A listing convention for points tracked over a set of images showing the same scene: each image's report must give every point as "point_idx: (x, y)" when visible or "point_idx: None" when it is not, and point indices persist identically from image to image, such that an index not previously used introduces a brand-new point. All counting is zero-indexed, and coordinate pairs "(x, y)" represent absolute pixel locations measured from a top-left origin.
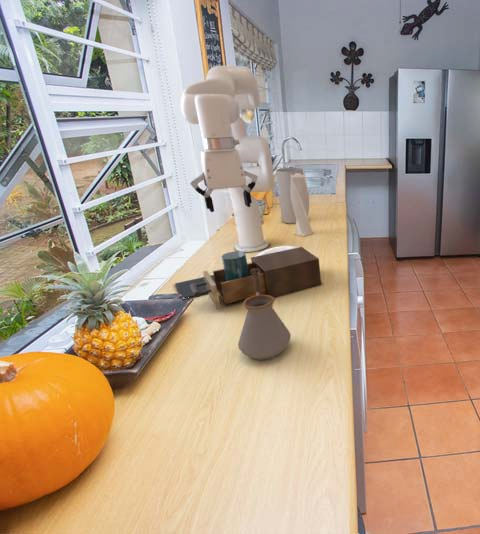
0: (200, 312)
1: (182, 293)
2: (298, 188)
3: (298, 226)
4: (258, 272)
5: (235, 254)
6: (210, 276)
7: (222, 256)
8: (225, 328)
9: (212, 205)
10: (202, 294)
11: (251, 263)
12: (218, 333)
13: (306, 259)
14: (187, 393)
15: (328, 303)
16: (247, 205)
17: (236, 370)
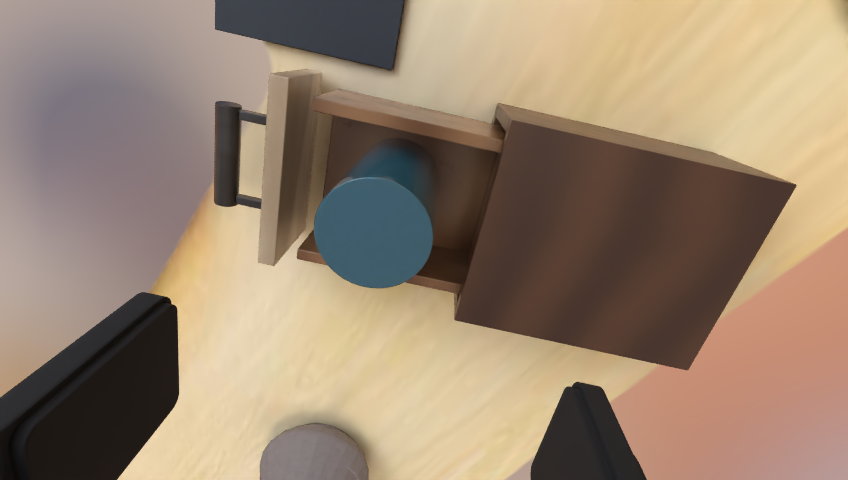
0: (253, 185)
1: None
2: None
3: None
4: (355, 476)
5: (383, 236)
6: (281, 165)
7: (321, 213)
8: (284, 321)
9: (125, 456)
10: (294, 46)
11: (490, 149)
12: (263, 329)
13: (651, 341)
14: (168, 450)
15: (549, 403)
16: (534, 477)
17: (252, 457)
